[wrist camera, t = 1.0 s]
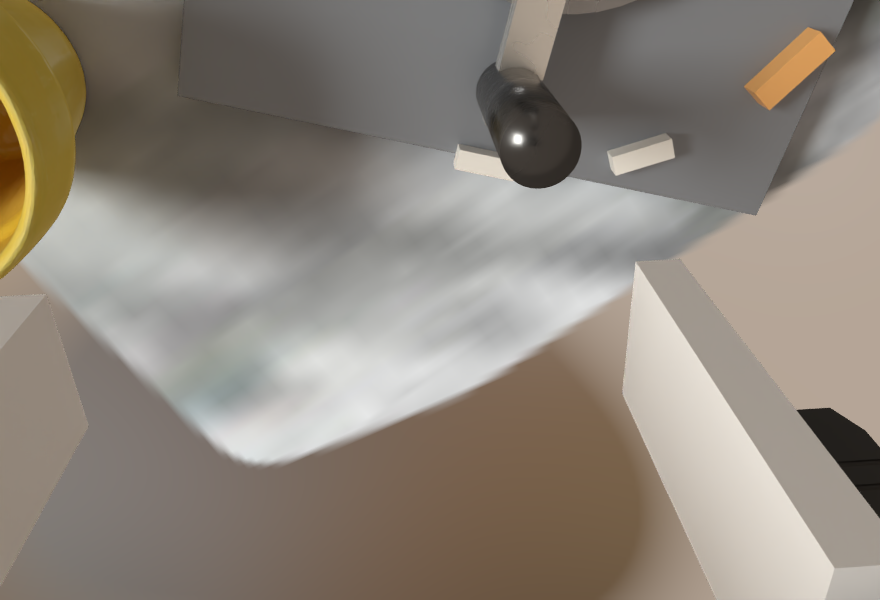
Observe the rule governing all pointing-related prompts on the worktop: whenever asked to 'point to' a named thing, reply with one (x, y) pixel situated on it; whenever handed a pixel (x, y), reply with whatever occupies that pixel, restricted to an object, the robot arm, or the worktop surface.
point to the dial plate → (567, 77)
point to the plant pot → (35, 126)
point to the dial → (532, 94)
